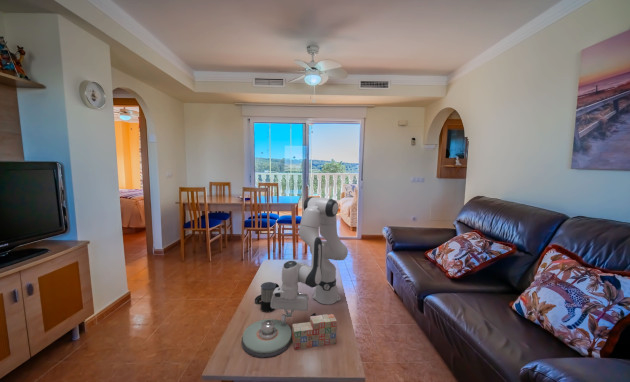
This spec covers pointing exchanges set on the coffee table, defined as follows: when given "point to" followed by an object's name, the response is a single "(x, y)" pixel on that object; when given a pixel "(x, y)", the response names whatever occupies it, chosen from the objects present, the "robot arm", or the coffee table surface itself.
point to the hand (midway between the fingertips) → (289, 316)
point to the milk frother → (266, 296)
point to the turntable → (267, 346)
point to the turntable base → (266, 355)
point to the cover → (268, 330)
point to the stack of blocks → (315, 332)
